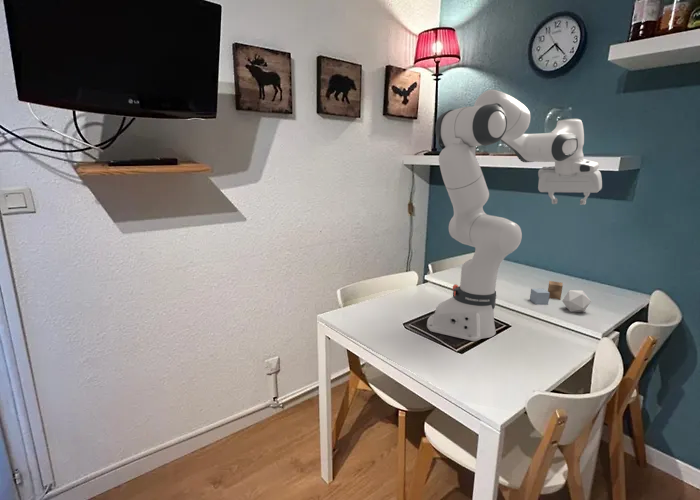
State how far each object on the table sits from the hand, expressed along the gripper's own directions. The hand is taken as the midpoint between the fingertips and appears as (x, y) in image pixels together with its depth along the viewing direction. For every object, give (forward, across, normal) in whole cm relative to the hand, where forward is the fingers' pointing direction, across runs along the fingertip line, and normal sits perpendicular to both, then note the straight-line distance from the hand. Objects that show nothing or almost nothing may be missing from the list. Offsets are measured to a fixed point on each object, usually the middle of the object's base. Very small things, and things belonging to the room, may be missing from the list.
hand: (568, 203), depth 143 cm
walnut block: (+42, -7, +6) cm, 43 cm away
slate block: (+40, -9, -6) cm, 41 cm away
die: (+41, +4, -5) cm, 41 cm away
